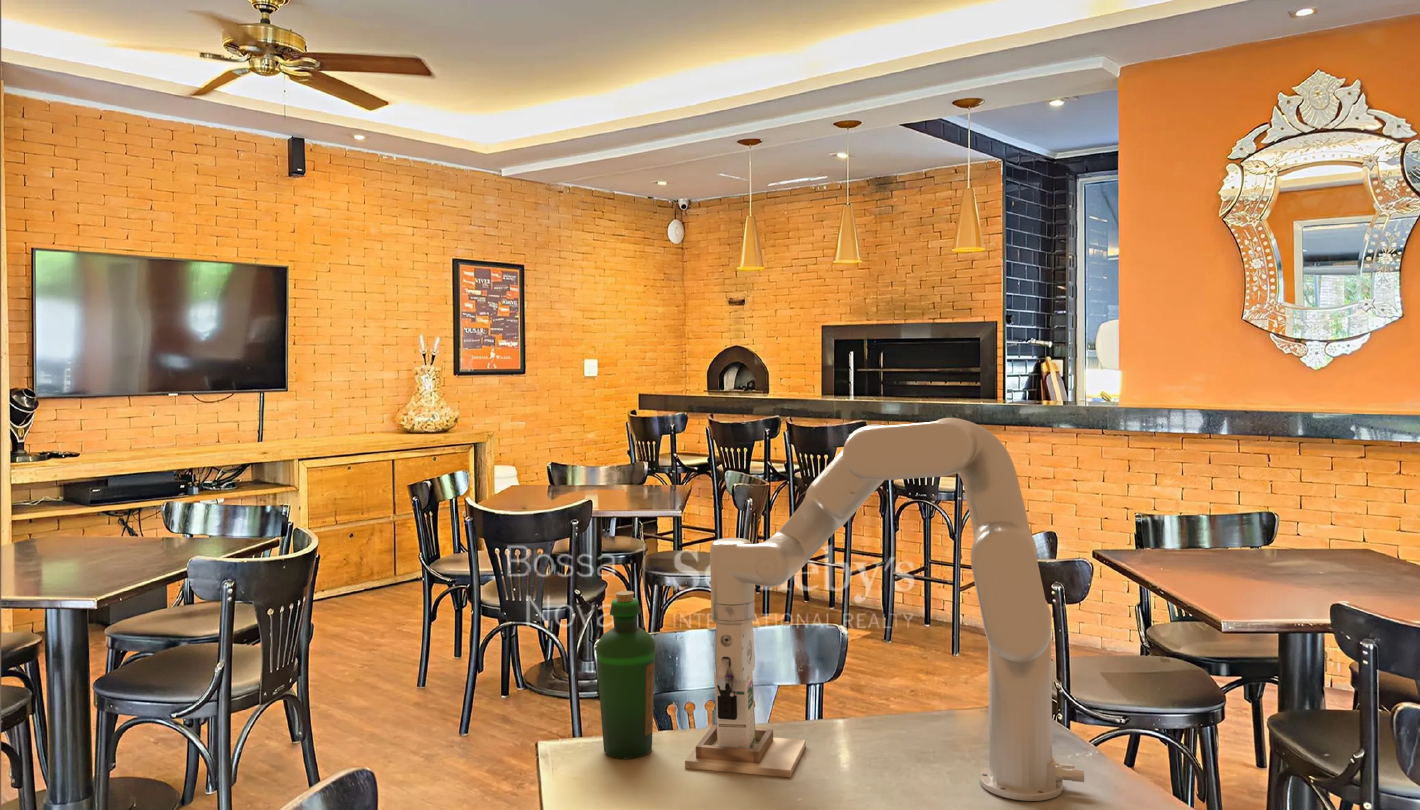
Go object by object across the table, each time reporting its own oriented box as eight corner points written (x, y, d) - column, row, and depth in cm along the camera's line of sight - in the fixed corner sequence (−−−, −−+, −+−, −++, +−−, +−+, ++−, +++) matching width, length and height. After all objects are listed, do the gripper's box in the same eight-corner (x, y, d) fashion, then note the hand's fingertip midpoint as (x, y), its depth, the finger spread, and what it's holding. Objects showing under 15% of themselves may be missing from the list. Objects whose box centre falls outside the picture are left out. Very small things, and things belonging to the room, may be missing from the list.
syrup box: (750, 756, 168) (747, 671, 168) (716, 754, 169) (713, 670, 169) (756, 743, 174) (753, 661, 173) (723, 742, 175) (720, 660, 174)
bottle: (671, 749, 175) (667, 591, 174) (626, 767, 167) (622, 602, 167) (630, 736, 182) (626, 584, 182) (585, 752, 174) (581, 594, 174)
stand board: (805, 746, 175) (805, 728, 175) (790, 777, 162) (790, 758, 162) (707, 738, 180) (707, 721, 180) (684, 767, 167) (684, 749, 167)
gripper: (742, 624, 162) (743, 728, 162) (765, 601, 178) (766, 695, 179) (697, 621, 164) (699, 724, 164) (724, 599, 180) (726, 692, 181)
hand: (734, 709), depth 171 cm, fingers open, 9 cm apart
